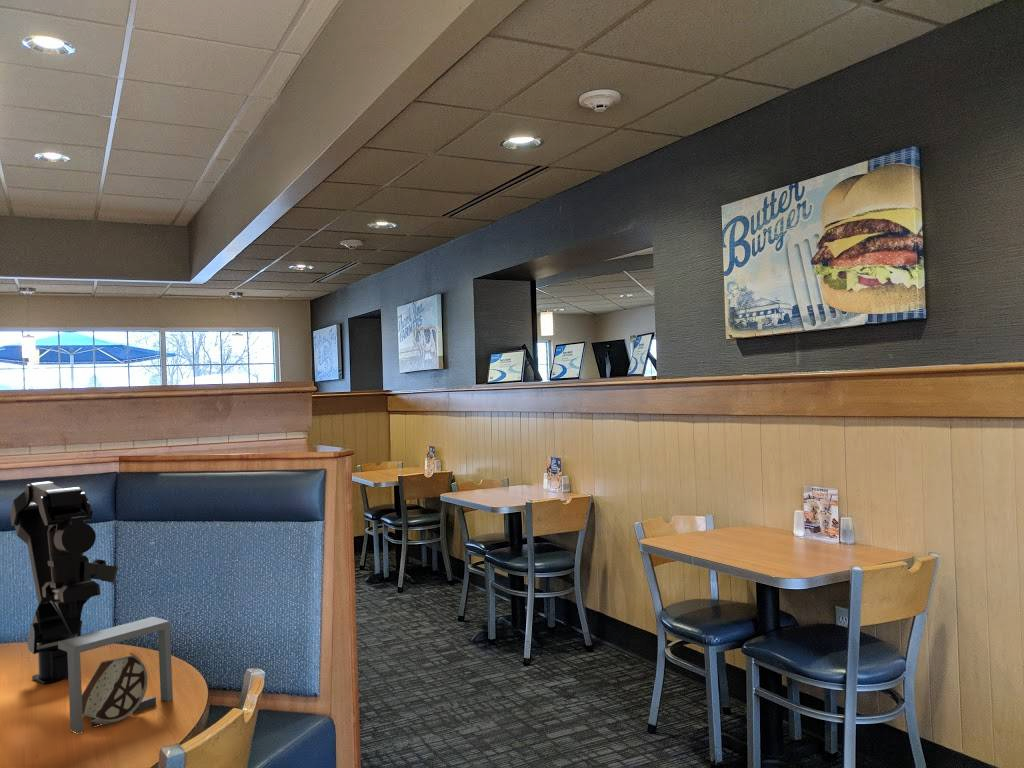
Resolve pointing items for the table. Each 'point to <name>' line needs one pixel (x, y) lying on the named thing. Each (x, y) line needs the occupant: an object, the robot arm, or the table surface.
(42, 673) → the robot arm
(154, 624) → the overhang shelf
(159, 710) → the table surface
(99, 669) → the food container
